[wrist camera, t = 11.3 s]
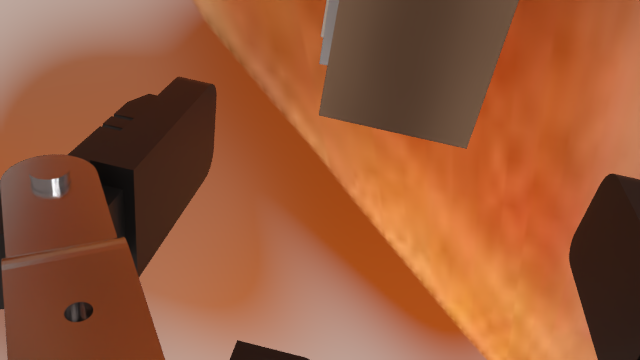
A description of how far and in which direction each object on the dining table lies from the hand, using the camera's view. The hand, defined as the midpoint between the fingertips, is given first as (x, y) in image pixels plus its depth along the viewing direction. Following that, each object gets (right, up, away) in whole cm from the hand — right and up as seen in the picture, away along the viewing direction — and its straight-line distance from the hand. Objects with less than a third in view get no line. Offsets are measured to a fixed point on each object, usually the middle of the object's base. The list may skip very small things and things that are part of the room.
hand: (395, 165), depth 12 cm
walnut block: (+2, +7, +11) cm, 13 cm away
